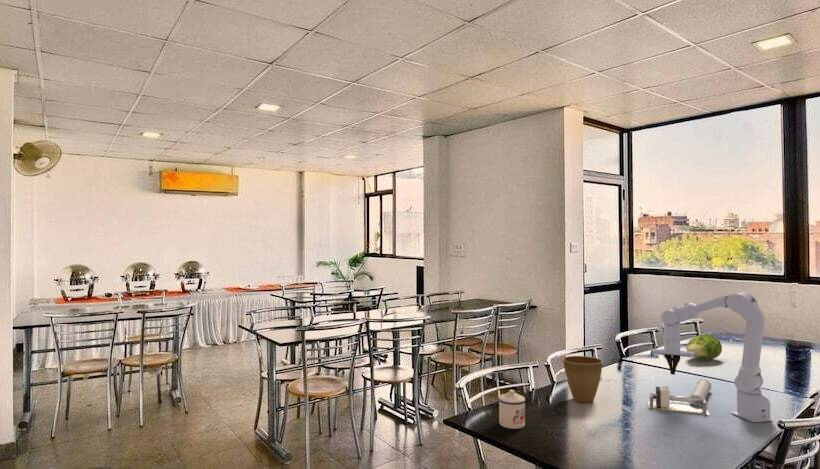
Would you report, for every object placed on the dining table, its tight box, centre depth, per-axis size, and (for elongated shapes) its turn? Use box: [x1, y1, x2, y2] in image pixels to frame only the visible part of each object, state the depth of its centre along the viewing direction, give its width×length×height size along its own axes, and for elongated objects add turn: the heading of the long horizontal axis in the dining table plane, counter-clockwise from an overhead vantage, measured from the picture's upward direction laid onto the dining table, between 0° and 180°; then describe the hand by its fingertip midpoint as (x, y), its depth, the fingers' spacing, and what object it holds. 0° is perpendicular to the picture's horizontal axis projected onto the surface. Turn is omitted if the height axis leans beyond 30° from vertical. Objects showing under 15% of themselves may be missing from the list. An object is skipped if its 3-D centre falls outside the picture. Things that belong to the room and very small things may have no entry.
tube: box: [689, 378, 712, 407], centre depth 191 cm, size 5×5×25 cm
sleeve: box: [658, 385, 671, 407], centre depth 182 cm, size 3×6×6 cm, turn 156°
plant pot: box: [562, 355, 604, 404], centre depth 190 cm, size 15×15×16 cm
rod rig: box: [647, 392, 710, 416], centre depth 180 cm, size 20×8×5 cm, turn 66°
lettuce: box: [686, 333, 723, 361], centre depth 254 cm, size 14×23×13 cm, turn 128°
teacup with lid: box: [498, 389, 526, 430], centre depth 165 cm, size 12×9×12 cm
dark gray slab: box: [655, 386, 661, 407], centre depth 183 cm, size 1×6×6 cm, turn 156°
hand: (672, 373), depth 191 cm, fingers closed
